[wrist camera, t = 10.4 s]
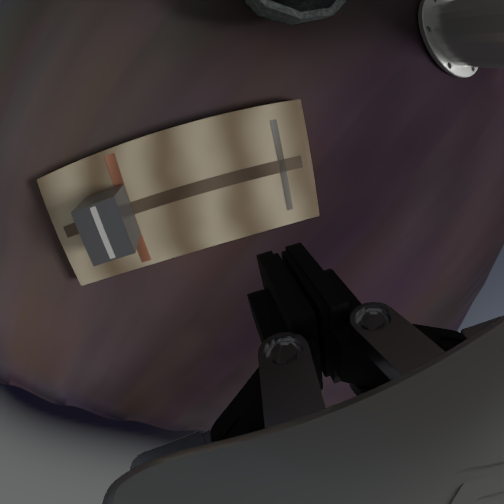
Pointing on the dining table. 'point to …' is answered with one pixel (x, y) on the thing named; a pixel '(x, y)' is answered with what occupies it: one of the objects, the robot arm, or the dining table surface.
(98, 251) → the fader knob
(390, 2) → the dining table surface
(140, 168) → the fader board
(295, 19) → the mortar and pestle
